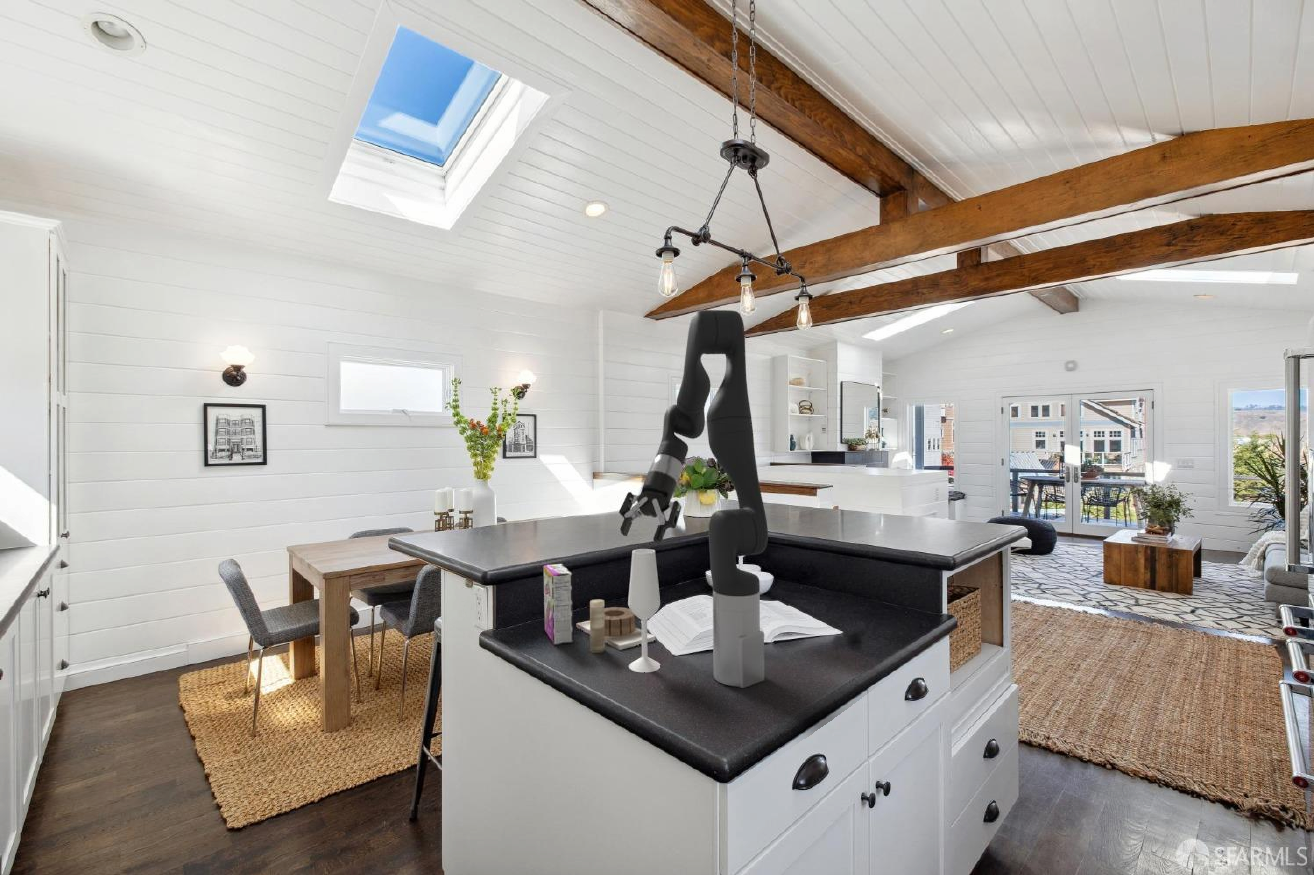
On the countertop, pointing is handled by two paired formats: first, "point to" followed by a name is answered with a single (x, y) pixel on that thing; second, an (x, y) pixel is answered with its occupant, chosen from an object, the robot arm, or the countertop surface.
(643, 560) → the champagne flute
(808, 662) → the countertop surface
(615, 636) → the gear board
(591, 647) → the wooden dowel peg
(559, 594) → the candy bar box
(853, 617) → the countertop surface
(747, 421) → the robot arm
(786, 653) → the countertop surface
